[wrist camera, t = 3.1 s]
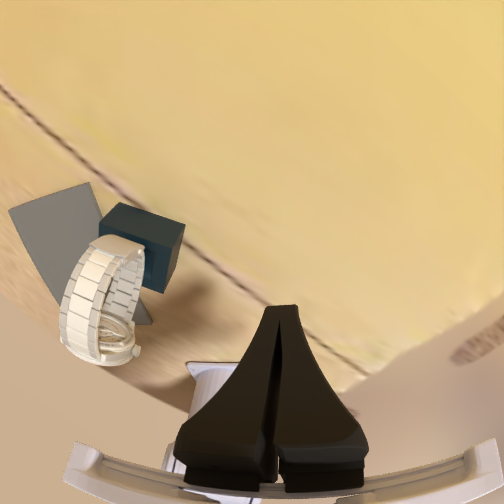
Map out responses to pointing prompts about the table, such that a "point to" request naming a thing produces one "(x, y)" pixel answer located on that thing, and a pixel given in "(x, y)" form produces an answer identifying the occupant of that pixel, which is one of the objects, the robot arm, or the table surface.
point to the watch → (117, 283)
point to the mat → (63, 237)
